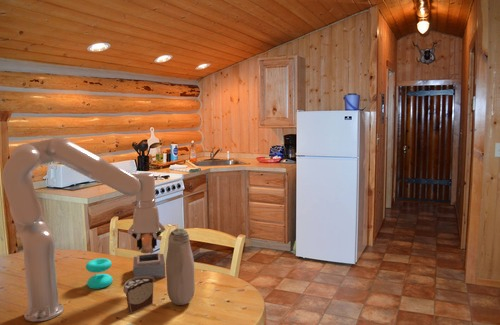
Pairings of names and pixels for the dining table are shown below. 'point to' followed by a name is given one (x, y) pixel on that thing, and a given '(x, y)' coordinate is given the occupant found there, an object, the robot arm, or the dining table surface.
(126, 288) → the brown piece
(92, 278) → the donuts
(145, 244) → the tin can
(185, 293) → the beige bottle
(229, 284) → the dining table surface
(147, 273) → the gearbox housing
